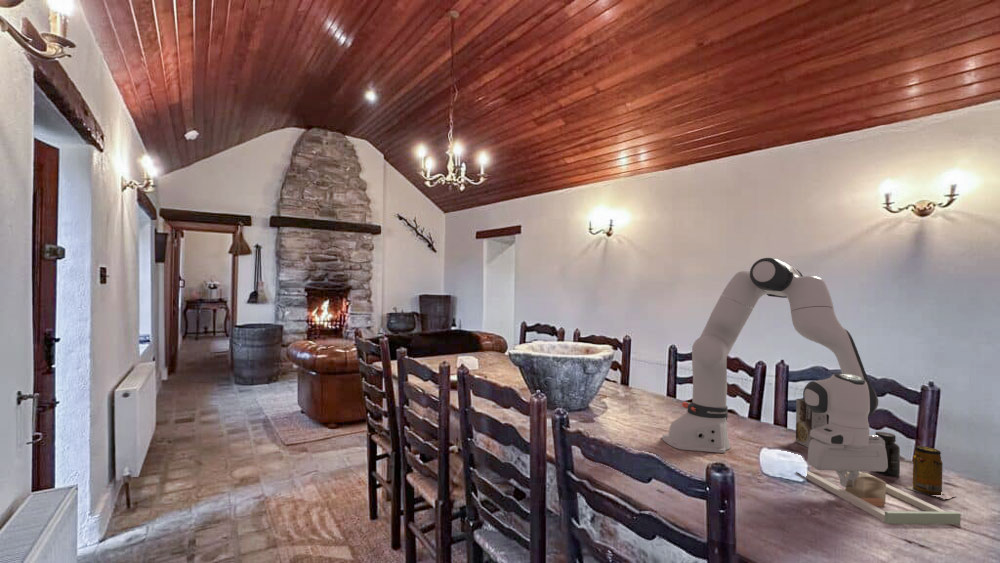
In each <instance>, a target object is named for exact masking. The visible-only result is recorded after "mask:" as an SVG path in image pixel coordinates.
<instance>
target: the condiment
mask: <svg viewBox="0 0 1000 563" xmlns="http://www.w3.org/2000/svg"><path fill="white" fill-rule="evenodd" d="M941 454H942V452H941V451H940V450H939V449H937V448H933V447H930V446H926V445H925V446H923V445H917V446H915V451H914V455H913V457H912V462H913V465H912V485H911V486H906V487H905V489H907V490H911V491H914V492H916V493H919V494H924V495H927V496H930V497H933V498H936V499H940V500H944V501H946V500H945V499H943V498H939V497H936V496H931V495H941V492H943V460H942V456H941ZM928 494H929V495H928Z"/></svg>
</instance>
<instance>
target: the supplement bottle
mask: <svg viewBox="0 0 1000 563" xmlns="http://www.w3.org/2000/svg"><path fill="white" fill-rule="evenodd" d="M874 435H877V436H880V437H881V438H882V439H883V440H884V441H885V449H886V453H887V460H888V468H887V469H886V471H873V472H874V473H876V474H878V475H882V476H888V477H899V476H900V474H901V449H900V446H899V445H898V444H897V443H896V441H897V440H896V435H895V434H893V433H890V432H885V431H875V434H874Z"/></svg>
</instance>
